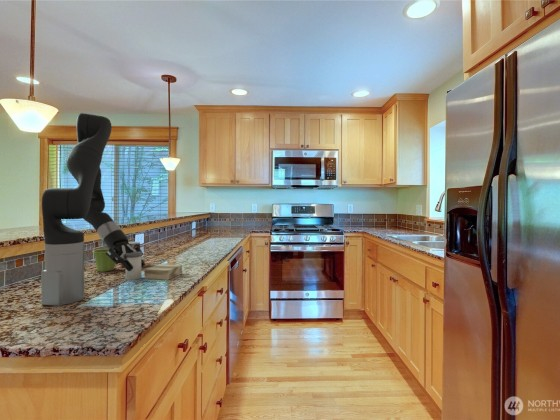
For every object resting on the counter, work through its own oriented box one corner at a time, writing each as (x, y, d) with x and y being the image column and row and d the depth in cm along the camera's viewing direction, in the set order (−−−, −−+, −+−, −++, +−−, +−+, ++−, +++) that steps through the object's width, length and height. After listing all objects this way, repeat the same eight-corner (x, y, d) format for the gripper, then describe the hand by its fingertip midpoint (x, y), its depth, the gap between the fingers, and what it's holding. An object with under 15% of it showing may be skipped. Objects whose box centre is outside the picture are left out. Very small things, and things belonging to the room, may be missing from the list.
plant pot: (96, 268, 125) (96, 249, 124) (120, 267, 127) (120, 248, 127) (89, 273, 116) (89, 252, 115) (115, 272, 118) (114, 251, 118)
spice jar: (134, 280, 105) (134, 254, 105) (121, 279, 106) (121, 253, 106) (144, 276, 111) (144, 251, 110) (132, 276, 112) (132, 251, 112)
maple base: (167, 279, 107) (167, 270, 107) (144, 278, 109) (144, 269, 109) (181, 273, 117) (181, 265, 116) (160, 272, 118) (160, 263, 118)
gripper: (101, 230, 103) (128, 265, 100) (132, 227, 117) (156, 258, 114) (90, 244, 105) (116, 279, 102) (122, 239, 119) (145, 270, 116)
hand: (137, 267), depth 108 cm, fingers closed on spice jar, 5 cm apart
